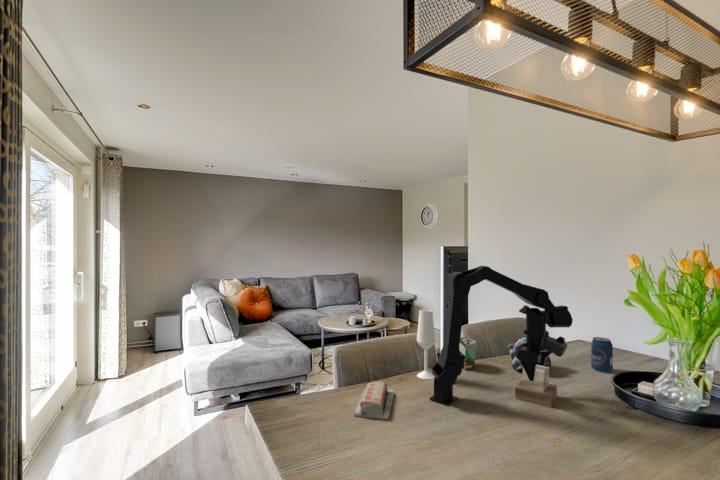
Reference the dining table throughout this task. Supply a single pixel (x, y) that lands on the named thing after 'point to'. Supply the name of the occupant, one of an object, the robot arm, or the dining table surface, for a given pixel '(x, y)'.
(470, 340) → the food container
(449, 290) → the robot arm
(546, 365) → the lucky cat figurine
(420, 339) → the champagne flute
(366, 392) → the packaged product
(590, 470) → the dining table surface
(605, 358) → the soda can
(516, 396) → the walnut block
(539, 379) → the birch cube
